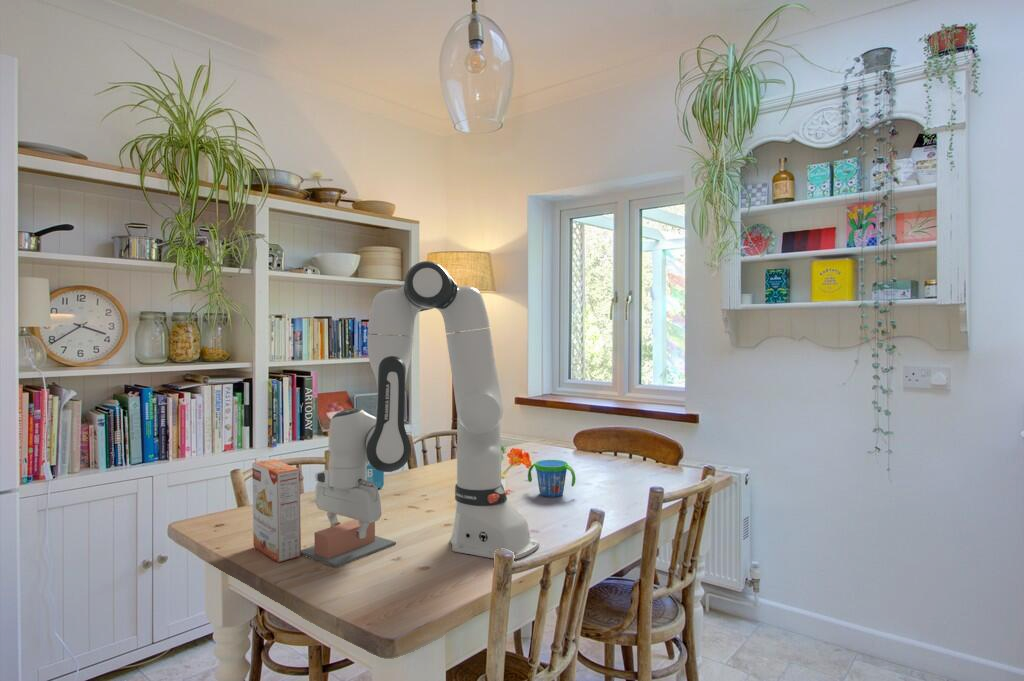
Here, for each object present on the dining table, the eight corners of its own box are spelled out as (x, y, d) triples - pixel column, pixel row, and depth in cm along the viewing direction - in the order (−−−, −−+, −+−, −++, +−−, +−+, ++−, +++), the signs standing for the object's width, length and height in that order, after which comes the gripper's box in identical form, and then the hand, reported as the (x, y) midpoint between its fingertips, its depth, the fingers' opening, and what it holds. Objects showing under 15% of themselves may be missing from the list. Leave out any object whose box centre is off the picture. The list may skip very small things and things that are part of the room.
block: (314, 532, 143) (361, 517, 155) (314, 553, 143) (361, 537, 155) (328, 536, 140) (374, 521, 152) (328, 558, 140) (374, 541, 152)
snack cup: (521, 494, 196) (522, 463, 196) (537, 487, 205) (537, 457, 205) (566, 502, 188) (566, 469, 188) (580, 494, 198) (580, 462, 197)
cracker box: (251, 548, 149) (251, 462, 148) (276, 541, 153) (275, 458, 152) (276, 564, 139) (275, 472, 138) (301, 557, 143) (301, 467, 142)
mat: (395, 544, 151) (395, 541, 151) (336, 567, 137) (336, 564, 137) (357, 532, 160) (357, 530, 160) (297, 553, 145) (297, 551, 145)
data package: (351, 495, 195) (351, 457, 195) (344, 492, 199) (344, 455, 198) (384, 488, 204) (384, 452, 204) (376, 485, 207) (376, 450, 207)
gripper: (387, 480, 144) (387, 538, 145) (331, 468, 156) (332, 522, 157) (366, 486, 139) (367, 546, 140) (310, 473, 151) (311, 529, 151)
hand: (348, 533), depth 148 cm, fingers open, 8 cm apart
